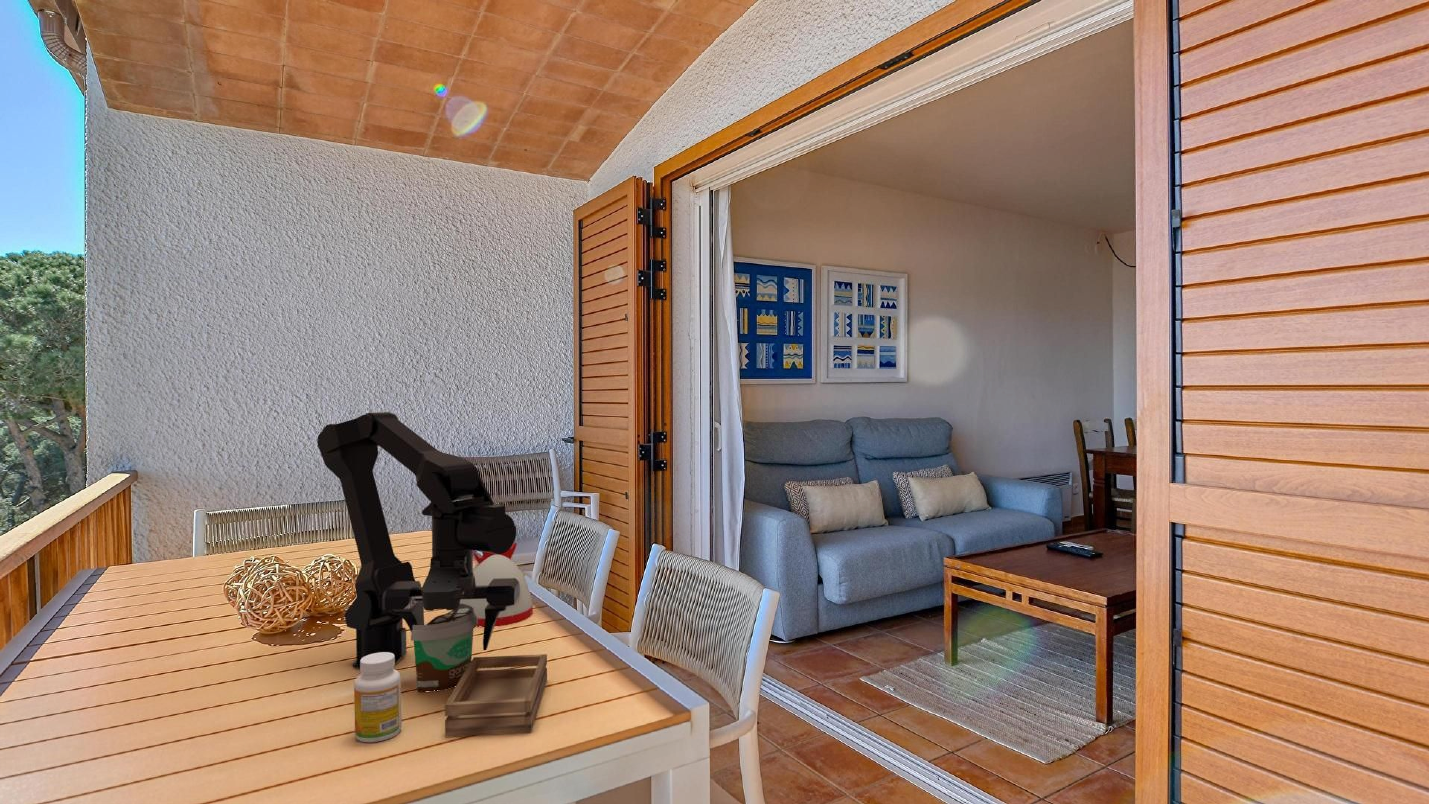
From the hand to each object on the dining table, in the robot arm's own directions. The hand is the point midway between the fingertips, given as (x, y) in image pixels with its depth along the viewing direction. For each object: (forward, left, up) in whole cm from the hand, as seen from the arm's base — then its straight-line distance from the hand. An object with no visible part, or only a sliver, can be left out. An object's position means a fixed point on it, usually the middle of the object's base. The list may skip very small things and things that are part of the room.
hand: (453, 650), depth 111 cm
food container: (0, 0, -5) cm, 5 cm away
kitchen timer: (0, +32, -5) cm, 32 cm away
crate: (+9, -10, -4) cm, 14 cm away
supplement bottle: (-5, -16, -5) cm, 18 cm away
